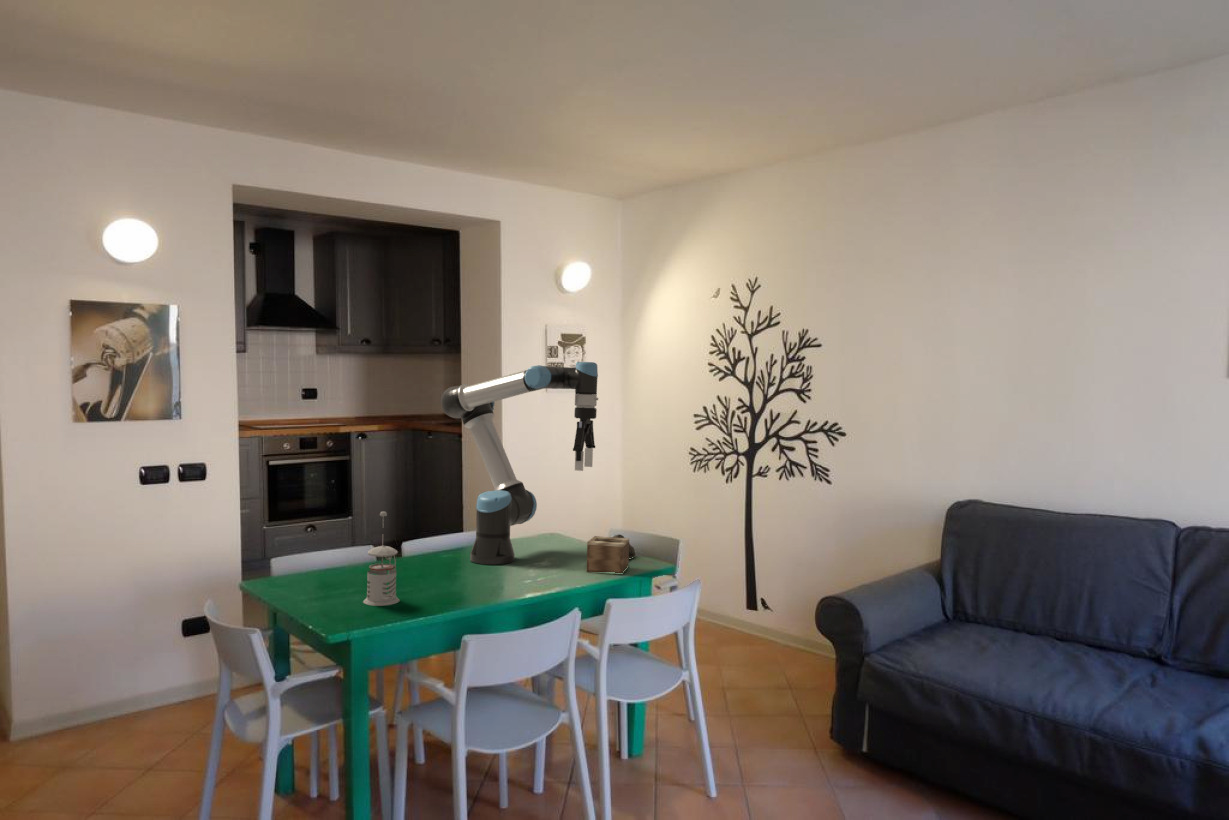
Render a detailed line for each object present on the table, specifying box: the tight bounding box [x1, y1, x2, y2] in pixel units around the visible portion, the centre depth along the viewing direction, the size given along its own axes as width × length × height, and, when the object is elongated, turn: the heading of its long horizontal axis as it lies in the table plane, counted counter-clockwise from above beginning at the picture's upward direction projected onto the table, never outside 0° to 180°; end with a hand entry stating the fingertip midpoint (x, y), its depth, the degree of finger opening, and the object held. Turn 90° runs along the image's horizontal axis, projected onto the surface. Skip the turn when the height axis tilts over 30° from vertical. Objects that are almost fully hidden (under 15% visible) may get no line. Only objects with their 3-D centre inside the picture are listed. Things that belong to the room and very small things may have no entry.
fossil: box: [612, 534, 636, 559], centre depth 295 cm, size 11×9×10 cm
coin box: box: [585, 535, 630, 574], centre depth 275 cm, size 12×11×10 cm
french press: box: [362, 511, 401, 607], centre depth 229 cm, size 10×12×25 cm
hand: (583, 468), depth 283 cm, fingers open, 13 cm apart
